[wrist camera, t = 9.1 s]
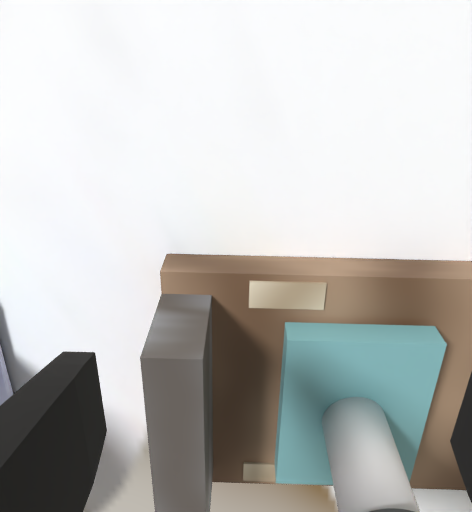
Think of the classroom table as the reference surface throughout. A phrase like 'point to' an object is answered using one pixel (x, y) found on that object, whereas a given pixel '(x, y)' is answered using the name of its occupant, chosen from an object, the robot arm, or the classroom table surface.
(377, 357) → the teal plate with post
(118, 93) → the classroom table surface
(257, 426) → the bench base
